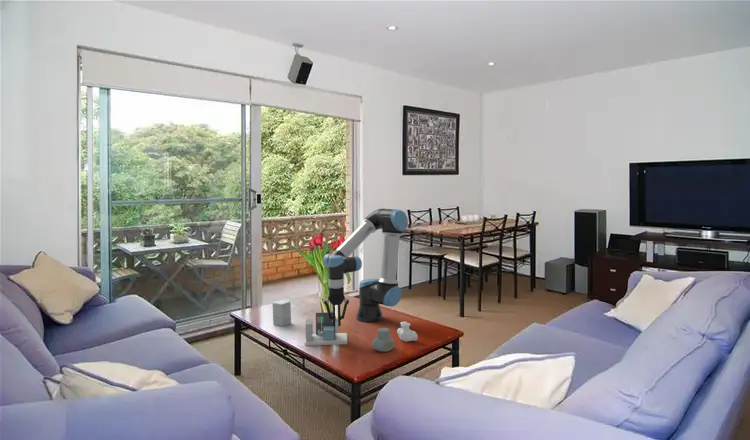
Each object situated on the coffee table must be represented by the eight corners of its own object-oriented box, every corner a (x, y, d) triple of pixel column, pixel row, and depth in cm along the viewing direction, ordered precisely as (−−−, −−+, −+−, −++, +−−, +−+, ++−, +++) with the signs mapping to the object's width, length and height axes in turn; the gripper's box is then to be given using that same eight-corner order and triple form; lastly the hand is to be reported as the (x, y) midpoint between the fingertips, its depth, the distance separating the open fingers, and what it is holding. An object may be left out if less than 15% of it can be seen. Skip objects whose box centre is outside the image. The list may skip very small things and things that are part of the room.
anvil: (312, 335, 235) (312, 318, 234) (312, 341, 227) (311, 323, 226) (306, 336, 235) (306, 319, 234) (305, 341, 227) (305, 324, 226)
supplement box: (291, 323, 261) (291, 301, 259) (282, 326, 254) (281, 304, 253) (281, 320, 265) (281, 299, 263) (272, 324, 258) (272, 302, 257)
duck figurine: (396, 342, 236) (388, 328, 230) (403, 330, 241) (395, 316, 234) (416, 347, 229) (408, 334, 223) (422, 335, 233) (415, 321, 227)
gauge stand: (346, 335, 240) (346, 311, 238) (347, 344, 228) (347, 318, 227) (306, 337, 238) (305, 312, 237) (304, 345, 226) (304, 319, 225)
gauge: (335, 333, 237) (335, 316, 236) (335, 339, 229) (335, 321, 228) (318, 334, 236) (318, 316, 236) (318, 340, 228) (317, 321, 227)
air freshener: (386, 344, 227) (386, 325, 226) (397, 349, 220) (397, 329, 219) (369, 349, 220) (368, 329, 219) (379, 355, 214) (379, 334, 213)
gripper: (349, 284, 234) (349, 329, 236) (323, 285, 233) (324, 330, 235) (349, 288, 226) (350, 334, 229) (323, 288, 225) (323, 335, 228)
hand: (336, 332), depth 232 cm, fingers closed
